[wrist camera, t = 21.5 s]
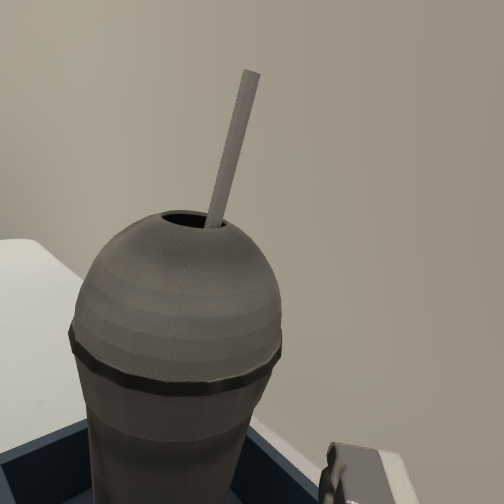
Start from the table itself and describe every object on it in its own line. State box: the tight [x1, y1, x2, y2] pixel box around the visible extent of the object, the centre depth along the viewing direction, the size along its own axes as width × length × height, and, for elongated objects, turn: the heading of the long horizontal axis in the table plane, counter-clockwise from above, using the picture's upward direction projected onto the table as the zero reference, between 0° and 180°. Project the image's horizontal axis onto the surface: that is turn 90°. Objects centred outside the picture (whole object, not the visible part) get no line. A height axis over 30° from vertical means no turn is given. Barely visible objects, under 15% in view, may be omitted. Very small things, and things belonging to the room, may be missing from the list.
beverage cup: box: [68, 70, 282, 504], centre depth 14 cm, size 7×7×20 cm
